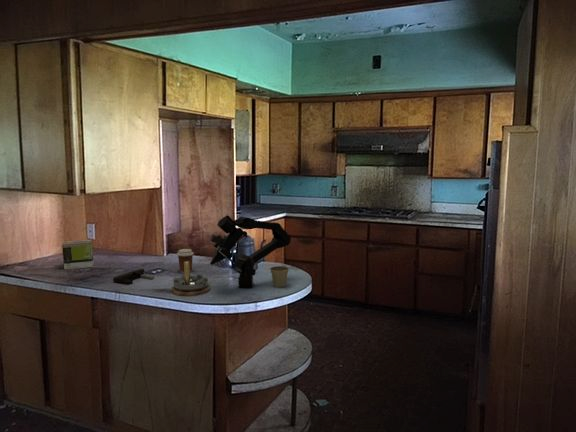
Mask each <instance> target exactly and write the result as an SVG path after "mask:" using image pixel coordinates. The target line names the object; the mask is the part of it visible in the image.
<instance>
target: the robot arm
mask: <svg viewBox="0 0 576 432" xmlns="http://www.w3.org/2000/svg"><path fill="white" fill-rule="evenodd" d="M217 227H218V228H219V229H221V230H222V231H223V232H224V233H225V234H227V235H225V236H224V235H223V236H224V237H222V236H221V235H220V234H217V235H216V234H213V233H212V234H211V237H210V239H209V241H210V242H211V243H213V244H212V246H213V247H214V248H213V249H214V255H213V256H212V258H211V261H210V262H209V265H211V266H213V265H216V264H217V263H218V262H221V261H223V260H225V259H226V260H227V259H228V260H231V259H232V258H233V255H234V254H233V253H232V249H234V247H237V244H238V242H239V241H241V238H243V237H244V238H248V234H247V231H246V230H254V229H262V230H270V231H271V233H272V236H273V237H272V238H271V241H270V242H268V243H267V244H265V245H263V246H262V247H260V248H259V249H257V250H256V251H254V252H253V253H251V254H250V255H246V254H242V255H241V256H239V257H237V259H236V260H235V261H234V262H235V263H234V265H233V266H234V269H235V270H236V271H237V273H238V274H239V276H238V277H237V278H238V279H237V280H238V288H243V289H252V288H253V287H254V285H255V283H254V276H255V275H256V272H257V271H256V269H255V268H254V266H255V265H256V264H257V263H258V262H259V261H261V260H262V259H264V258H265V257H267V256H268V255H270V254H272V253H273V252H274V251H276V250H277V249H281V248H285V247H287V246H289V245H290V244H291V239H292V238H291V236H290V235H289V234H288V232H287V231H286V230H285V229H284V228H283V227H282V225H281V224H280V223H279V222H275V221H272V222H271V221H263V220H258V219H253V218H250V217H248V216H247V217H246V216H243V215H241V216H239V217H238V218H237V219H234V220H233V219H232V218H231V217H230V216H229V215H225V216H224V217H221V219H219V221H218V222H217Z"/></svg>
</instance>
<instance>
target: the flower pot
mask: <svg viewBox="0 0 576 432" xmlns="http://www.w3.org/2000/svg"><path fill="white" fill-rule="evenodd" d="M289 270H290V268H289V267H288V266H284V265H283V266H282V265H279V266H278V265H276V266H275V265H274V266H272V267H270V268H269V271H270V273H271V277H272V278H271V279H272V285H273V287H276V288H284V287H286V285H287V279H288V273H289Z"/></svg>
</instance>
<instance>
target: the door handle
mask: <svg viewBox="0 0 576 432" xmlns="http://www.w3.org/2000/svg"><path fill="white" fill-rule="evenodd" d="M139 279H144V280H149V281H153V280H155V276H151V275H147V274H145V269H144V268H139V269H136V270H133V271H129V272H126V273H123V274H120V275H117V276H114V277H113V278H112V281H113V282H114V283H119V284H123V285H127V286H128V285H132V284H134V283H133V282H134V281H135V280H139Z"/></svg>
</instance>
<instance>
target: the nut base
mask: <svg viewBox="0 0 576 432" xmlns="http://www.w3.org/2000/svg"><path fill="white" fill-rule="evenodd" d="M208 291H209V292H210V291H211V285H210V283H208V287H207V288H205V289H203V290H199V291H191V292H184V291H178V290H175V289H174V285H172V287H171V293H172V294H173V295H175V296H180V297H194V296H193V295H195V296H200V295H199V294H201V295H204V294H203V293H205V294H207V293H209V292H208ZM206 292H207V293H206Z"/></svg>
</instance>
